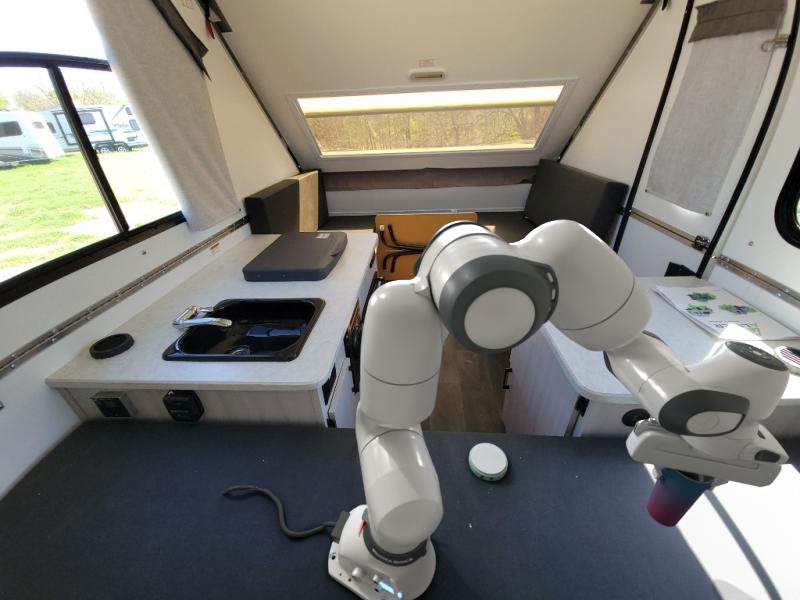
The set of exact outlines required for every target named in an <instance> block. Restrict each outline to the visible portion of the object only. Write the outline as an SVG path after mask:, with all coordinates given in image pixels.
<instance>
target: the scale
mask: <svg viewBox="0 0 800 600" xmlns="http://www.w3.org/2000/svg"><path fill="white" fill-rule="evenodd" d="M508 464H509V461H508V458H507V455H506V454H505V452H504V451H503V450H502V449H501V448H500V447H499V446H496V445H495V444H493V443H489V442H482V443H478V444H476V445H474V446H473V447H472V448H471V449H470V451H469V454H468V465H469V467H470V469H471V472H473V474H475V476H476V477H478V478H480V479H482V480H485V481H488V482H489V481H490V482H491V481H492V482H493V481H498V480H501V479H502V478H503V477H504V476H505V475H506V473H507V471H508V466H509V465H508Z"/></svg>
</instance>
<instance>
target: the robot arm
mask: <svg viewBox="0 0 800 600" xmlns="http://www.w3.org/2000/svg"><path fill="white" fill-rule="evenodd" d="M412 273H413V278H411V279H398V280H393V281H389V282H386V283H384V284H382V285H380V286H379V287H378V288H377V289H376V290H374V292H373V293H372V294H371V296H370V298H369V300H368V302H367V303H368V304H367V308H366V312H365V316H364V320H363V326H362V334H361V344H360V377H359V379H360V381H359V383H360V384H359V385H360V386H359V388H360V389H359V401H358V403H357V408H356V415H355V437H356V442H357V449H358V456H359V463H360V469H361V476H362V483H363V490H364V495H365V502H366V504H360V505H358V506H357V507H354V508H353V509H352V510H350V511H349V512H348V511H345V510H342V512H341V513H340V516H339V517H338V519H337V521H325V522H323V523H322V525H320V526H317V527H315V528H312V529H309V530H306V531H292V530H291V529H289V528H288V527H287V525H286V522H285V514H284V508H283V504H282V502H281V501H280V500H279V498H278V497H277V496H276V495H275V494H274V493H273V492H272V491H270V490H269V489H266V488H264V489H262V488H263V487H261V488H258V487H259V486H256V488H258V489H259V490H252V491H254V492H259V493H261V494H264V495H266V496H268V497H269V498H270V499H271V500H272V501H273V503H274V504H275V506H276V507H277V510H278V516H279V518H278V519H279V526H280V529H281V531H282V532H283V534H285V535H286V536H288V537H290V538H299V539H300V538H305V537H308V536H309V537H310V536H312V535H315V534H317V533H320V532H323V531H325V530H326V529H327V528H333V529H332V532H331V534H330V538H331V540H332V541H331V542H332V543H331V546H330V550H329V554H328V560H327V561H328V563H327V564H328V565H327V566H328V567H327V568H328V575H329V576H330V577H331V578H332V579H333V580H335V581H336V582H338V583H339V584H341V585H342V586H344V587H345V588H346V589H348V590H349V591H351V592H352V593H354V594H355V595H357V596H358V597H360V598H361V599H362V600H415V599H416V598H419V597H420V596H421V595H422V594H423V593H424V592H426V590H427V589H428V588H429V586H430V584H431V583H432V580H433V578H434V575H435V571H436V563H437V562H436V560H437V559H436V553H435V548H434V545H433V542H432V540H431V536H432V535H433V534H434V533H435V531H436V530H437V528H438V527H439V526H440V523H441V522H442V519H443V518H444V517H443V515H444V506H443V499H442V493H441V487H440V482H439V481H440V480H439V476H438V473H437V471H436V468H435V465H434V463H433V461H432V458H431V455H430V452H429V449H428V447H427V444H426V440H425V438H424V437H425V436H424V434H423V430H422V426H421V423H422V422H424V421H426V420H427V419H428V418H429V417H430V416H431V414H432V413H433V411H434V410H435V407H436V399H437V394H438V387H439V386H438V385H439V380H440V372H441V366H442V357H443V347H444V346H445V343H446V340H447V338H448V336H449V334H450V336H451V337H452V338H453V339H454V340H455V341H456V342H457V343H458V344H459V345H460V346H462V347H463V348H464V349H466V350H468V351H470V352H472V353H475V354H479V355H497V354H503V353H505V352H509V351H510V350H513V349H515V348H517V347H518V346H521V345H522V344H523V343H525V342H527V341H528V340H529V339H531V338H532V337H533V336H534V335H535V334H536V333H537V332H539V330H540V329H541V328H542V326H543V325H545V324H547V322H550V323H551V324H552V325H553V326H554V327H555V328H556V329H557V330H558V331H559V332H561V334H562V335H564V336H565V337H566V338H568V339H569V340H570V341H572V342H574V343H575V344H576V345H578V346H580V347H581V348H583V349H585V350H588V351H590V352H602V355H603V361H604V365H605V367H606V369H607V371H608V372H609V373H610V374H611V375H612V376H613V377H614V378H616V380H617V381H618V382H620V383H621V384H622V385H623V386H624V387H625V389H626V390H627V391H628V392H629V393H630V394H631V395H632V397H634V399H635V400H636V401H637V402H638V403H639V404H640V405H641V407H642V408H643V409H644V411H646V412H647V413H648V414H649V415H650V416H651V418H647V419H643V420H638V421H637V422H636V423H635V425H634V427H633V429H632V431H631V432H630V434H629V435H628V437H627V439H626V441H625V446H626V449H627V452H628V455H629V456H630V457H631V458H632V460H633V461H635V462H639V463H644V464H648V465H652V466H653V468H652V471H651V473H652V477H653V479H654V480H662V481H664V479H665V477H666V475H665V474H664V472H663V469H664V467H666V468H671V469H676V470H681V471H685V472H690V473H695V474H700V475H705V476H709V477H714V478H715V479H714V481H713V482H712V483H711V484H710V486H709V487H708V488H707V489H706V490H705V491H707V492H710V493H711V492H713V491H714V489H715V488H718V487H719V486H724V485H725V484H728V483H729V482H733V483H738V484H743V485H748V486H752V487H758V488H764V487H767V486H770V485H772V484H773V483H774V482H775V480H776V479H777V478H778V476H779V475H780V473H781V471H782V468H783V466H782V465H784V464H785V463H787V462H788V460H789V458H790V457H789V455H788V453H787V452H786V450H785V449H784V448H783V447H782V444H780V443H779V441H778V440H777V439H776V438H775V436H773V435H772V433H771V432H770V431H769V430H768V429H767V428H766V427H765V426H764V425H763V424H761V423H762V422H763V421H764V420H767V419H768V418H769V417H770V416H771V415H772V413H773V412H774V410H775V409H776V408H777V406H778V404H779V403H780V401H781V400H782V397H783V395H784V393H785V391H786V389H787V387H788V384H789V381H790V368H789V366H787V365H786V364H785V362H783V361H782V360H781V359H780V358H778V357H776V356H774V355H773V354H772V353H769V352H767V351H766V350H764V349H762V348H760V347H757V346H755V345H752V344H749V343H746V342H741V341H738V340H737V341H734V340H726V341H724V342H722V343H721V344H720V345H719V346H718V347H717V348H716V349H715V351H714V352H713V353H712V355H711V356H709V357H708V358H706V359H703V360H702V361H699V362H696V363H690V361H688V360H686V359H685V358H684V357H682V355H680V354H679V353H678V352H676V351H675V350H673V349H672V347H670V346H669V345H668V344H667V343H666V342H665V341H664V340H663V339H662V338H661V337H660V336H658V335H657V334H656V333H653V332H651V331H648V330H645V329H646V328H647V326H648V324H649V323H650V320H651V318H652V316H653V315H652V314H653V307H652V304H651V302H650V299H649V296H648V294H647V292H646V290H645V288H644V286H643V285H642V283H641V281H640V280H639V279H638V278H637V276H636V275H635V273H634V272H633V271H632V270H631V268H630V267H629V266H628V265H627V264H626V262H625V261H624V260H623V259H622V258H621V257H620V256H619V255H618V254H617V253H616V251H614V250H613V248H611V246H609V245H608V244H607V243H606V242H605V241H604V240H602V239H601V238H600V237H599V236H598V235H596V234H595V233H594V232H593V231H591V230H590V229H589V228H588V227H586V226H584V225H583V224H581V223H579V222H578V221H575V220H570V219H556V220H551V221H548V222H545V223H543V224H541V225H540V226H538V227H536V228H534V229H532V231H530V232H529V233H528V234H527V235H526V236H525V237H524V238H523V239H521V240H519V241H515V242H509V243H508V242H507V241H506V240H504V238H502V237H500V236H499V235H497V234H496V233H494V231H492V230H491V229H490V228H489V227H488V226H485V225H484V224H481V223H479V222H476V221H471V220H456V221H452V222H449V223H446V224H445V225H443V226H442V227H441V228H440V229H438V230H437V231H436V232H435V233H434V234H433V236H432V237H431V238H430V240H429V242H427V245H426V247H425V248H424V250H423V251H422V253H421V254H420V256H419V257H418V258H417V260H416V261H415V262H414V264H413V266H412ZM254 486H255V485H237V486H231V487H229V488H226V489H227V492H229V493H232V492H236V491H247V490H246V489H252V488H254ZM226 489H224V490H223V491H222V492H221V494H222V495H223V496H226V495H227V494H228V493H226V492H225V490H226ZM260 490H261V491H260ZM263 491H264V492H263ZM265 492H266V493H265ZM268 494H269V495H270V496H269V495H268ZM274 495H275V496H274ZM271 497H272V498H271ZM333 558H334V559H333Z"/></svg>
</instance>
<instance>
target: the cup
mask: <svg viewBox="0 0 800 600" xmlns="http://www.w3.org/2000/svg"><path fill="white" fill-rule="evenodd" d="M663 472H664V474H665V475H666V477H665V479H664V481H662V480H657V479H655V483H654V486H653V488H652V490H651V492H650V495H649V497H648V501H647V503H646V510H647V513H648V515H649V516H650V517H651V518H652V519H653V521H654V520H655V522H656V523H658V524H660V526H661V525H662V526H664V527H666V528H667V527H668V528H673V527H676V526H677V524H678V523H679V522H680V521H681V520H682V519H683V518H684V516H685V515H686V514H687V513H688V512H689V511H690V509H691V508H692V507H693V506H694V505H695V504H696V502H698V500H699V499H700V498H701V496H702V495H703V494H704V493H705V492H706V491H707V490H706V489H707V488H708V487H709V486H710V484H711V483H712V482H713V481H714V479H715V478H714V477H709V476H705V475H700V474H695V473H690V472H685V471H681V470H676V469H671V468H666V467H664V469H663Z"/></svg>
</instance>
